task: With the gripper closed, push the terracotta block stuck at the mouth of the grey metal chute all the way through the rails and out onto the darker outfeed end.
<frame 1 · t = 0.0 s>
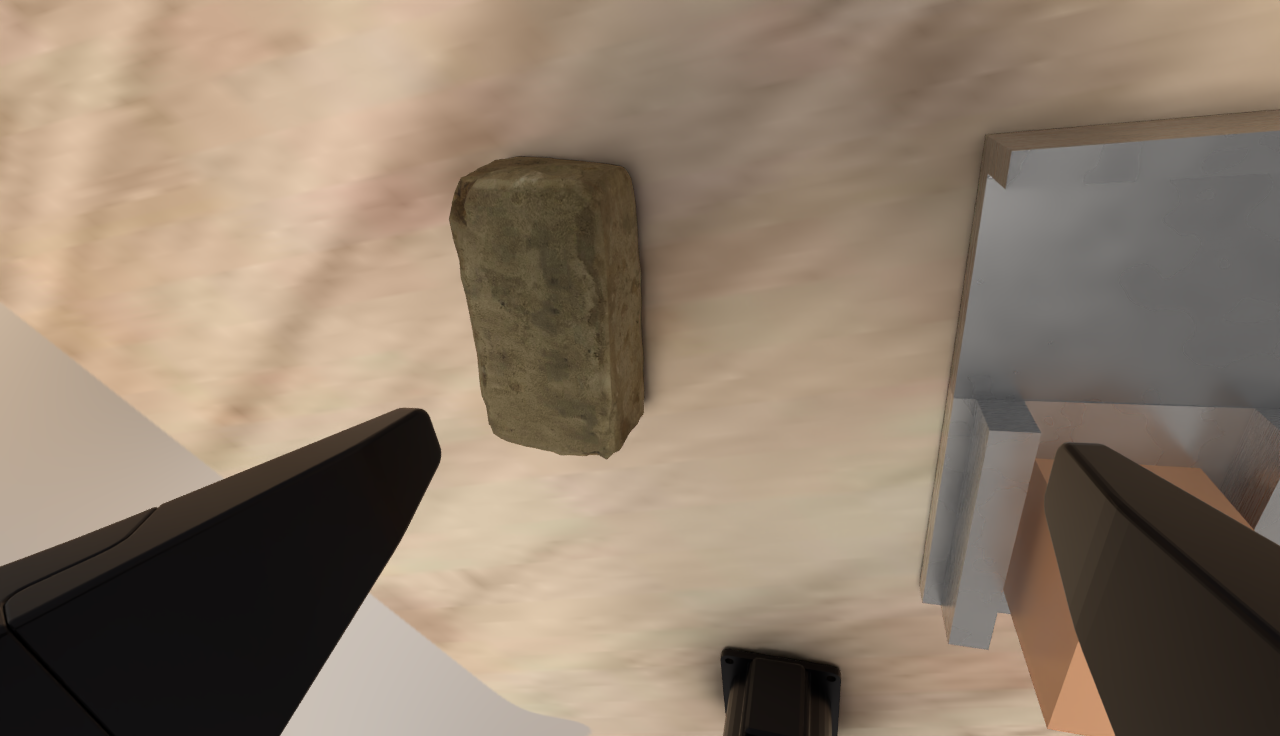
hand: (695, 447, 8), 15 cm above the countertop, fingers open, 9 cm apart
chute: (1100, 457, 22), on the countertop
block: (1091, 534, 22), point 1 cm above the countertop, touching chute
stone block: (583, 289, 25), on the countertop
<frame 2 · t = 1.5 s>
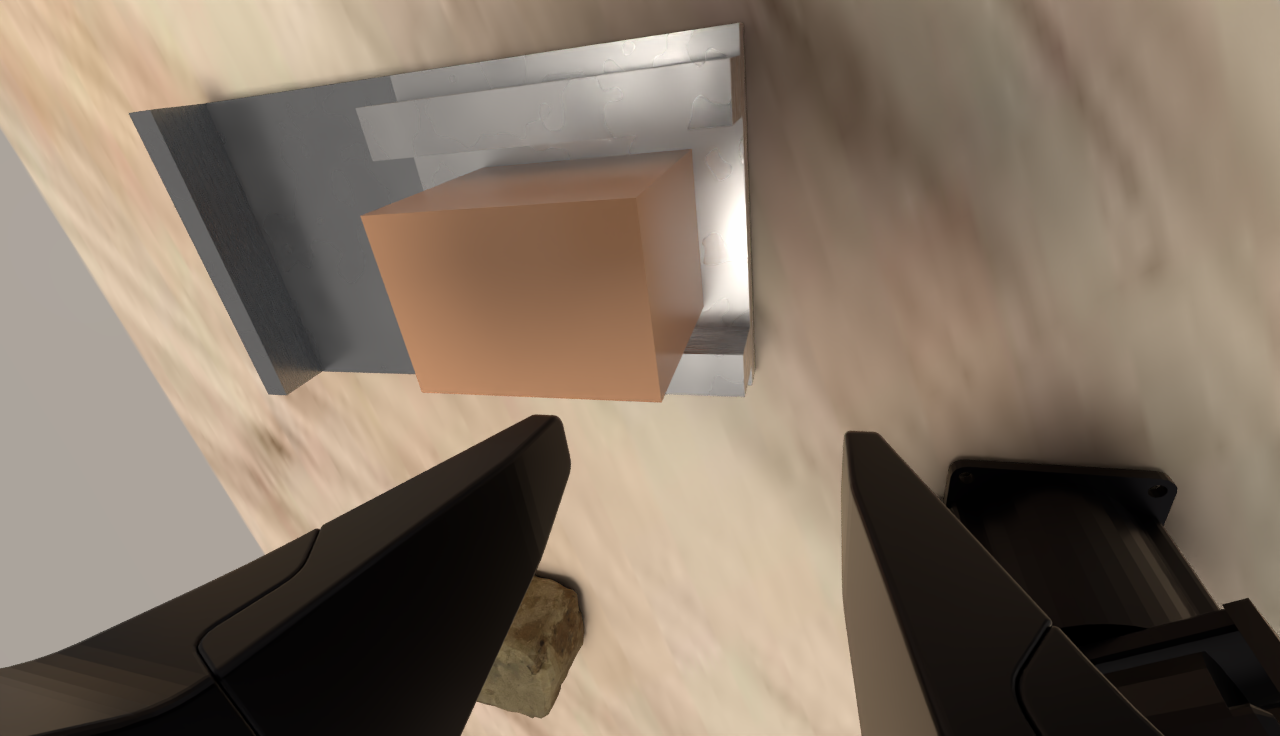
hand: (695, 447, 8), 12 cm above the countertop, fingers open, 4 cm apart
chute: (525, 232, 21), on the countertop
block: (594, 237, 19), point 1 cm above the countertop, touching chute
stone block: (494, 587, 33), on the countertop
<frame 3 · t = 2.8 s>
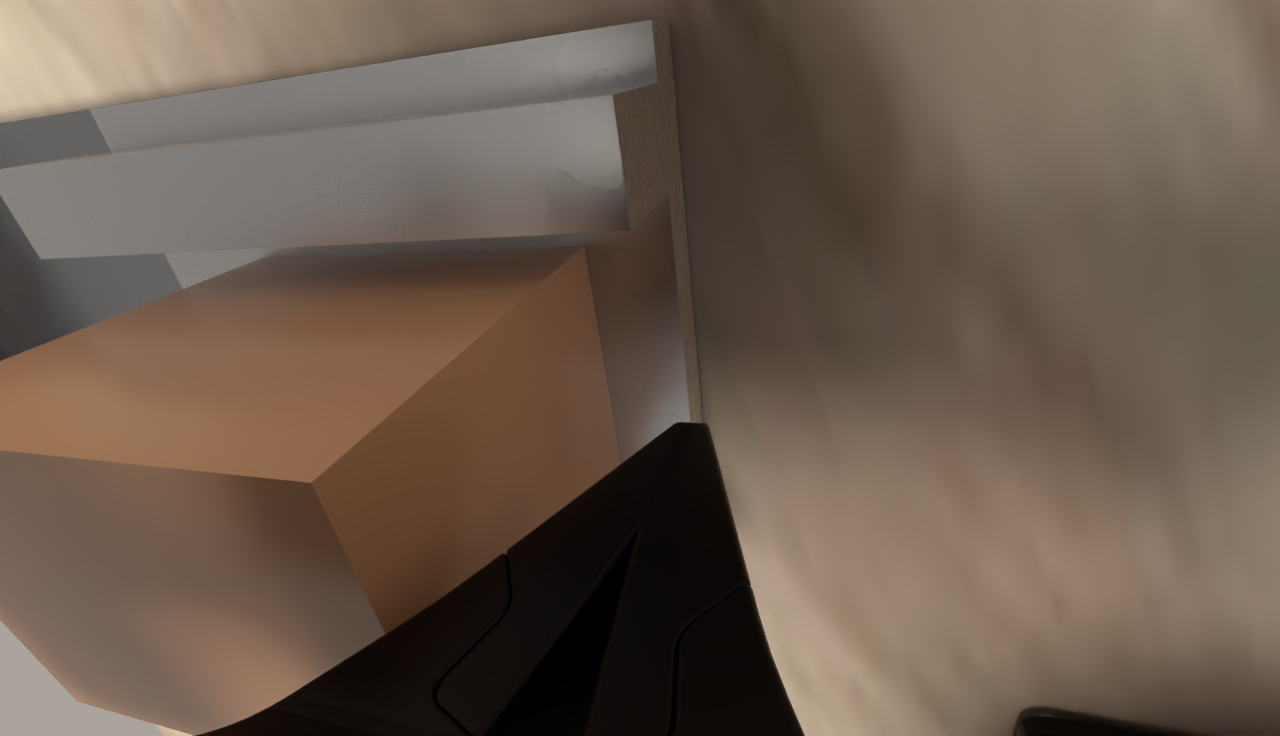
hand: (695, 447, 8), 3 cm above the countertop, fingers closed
chute: (356, 348, 13), on the countertop
block: (443, 373, 12), point 1 cm above the countertop, touching chute, gripper
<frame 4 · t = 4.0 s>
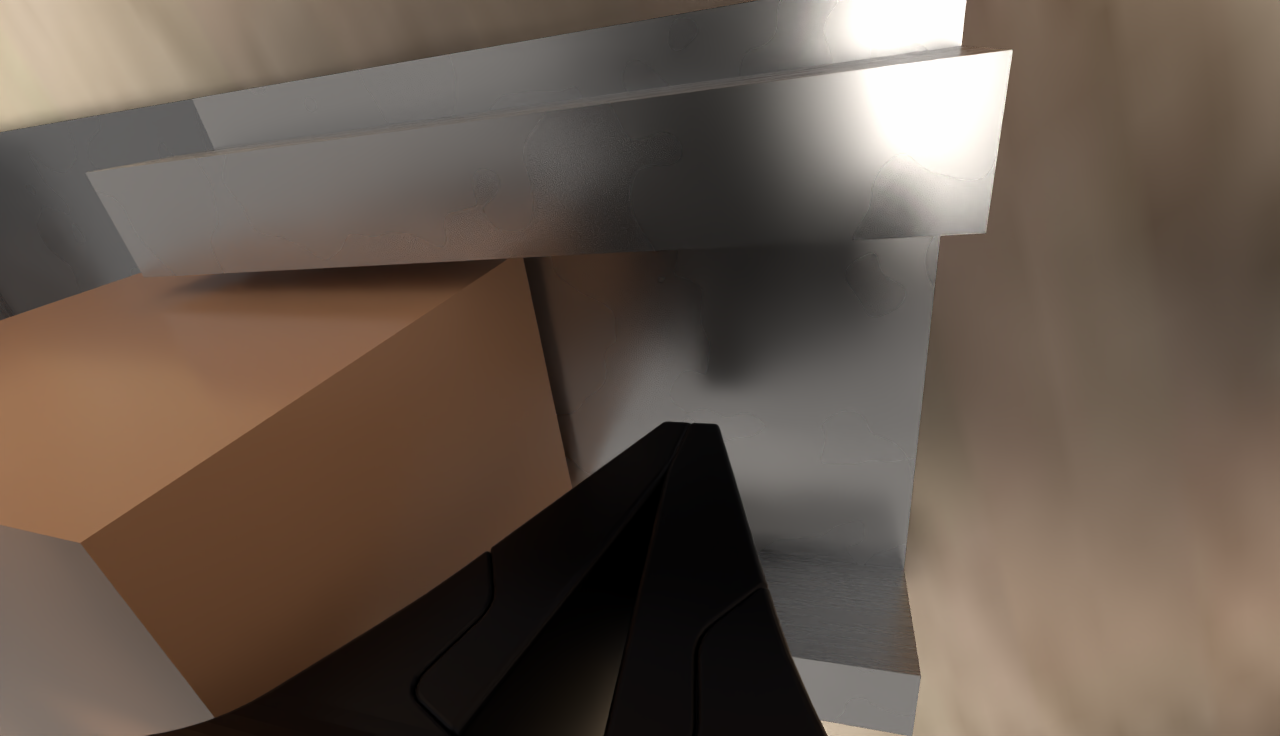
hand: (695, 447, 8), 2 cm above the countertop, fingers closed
chute: (479, 372, 12), on the countertop
block: (385, 381, 11), point 1 cm above the countertop, touching gripper
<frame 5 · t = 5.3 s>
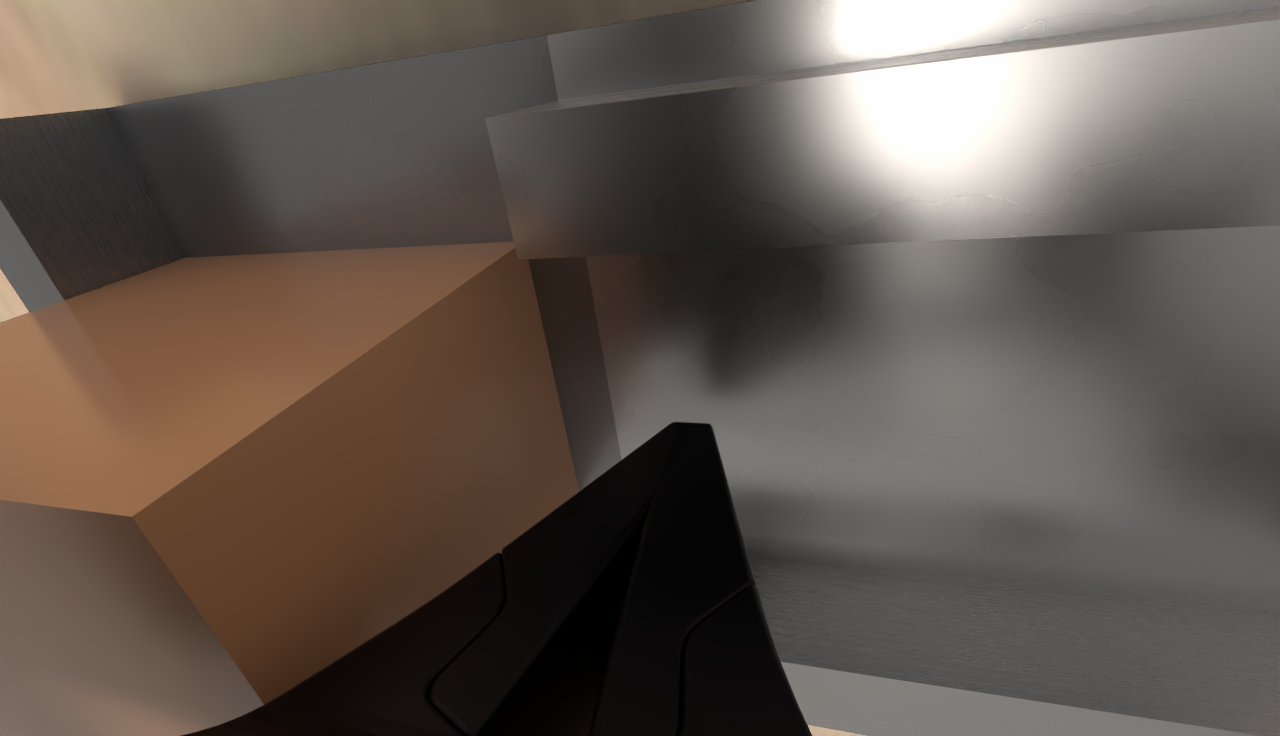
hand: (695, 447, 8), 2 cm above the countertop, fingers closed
chute: (796, 379, 10), on the countertop
block: (385, 378, 11), point 1 cm above the countertop, touching chute, gripper
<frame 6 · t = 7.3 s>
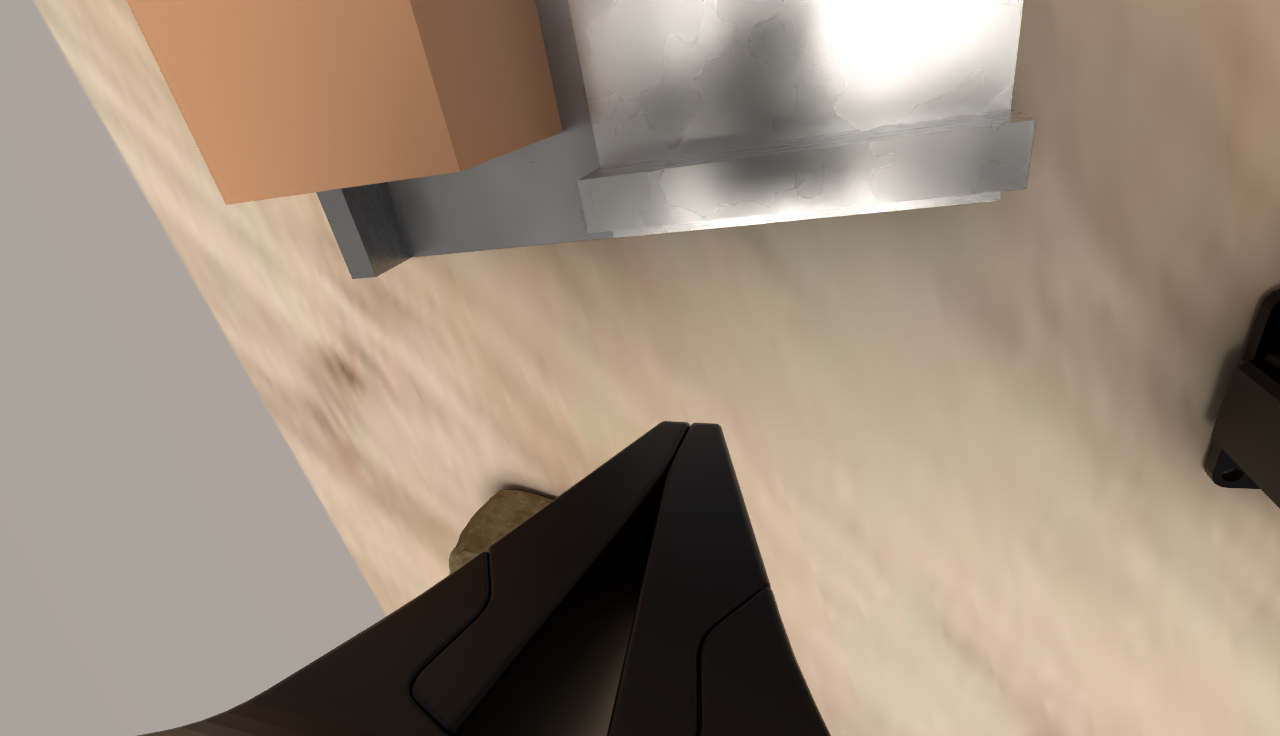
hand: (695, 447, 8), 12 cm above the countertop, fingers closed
chute: (687, 26, 16), on the countertop
block: (439, 61, 18), point 1 cm above the countertop, touching chute
stone block: (603, 546, 28), on the countertop
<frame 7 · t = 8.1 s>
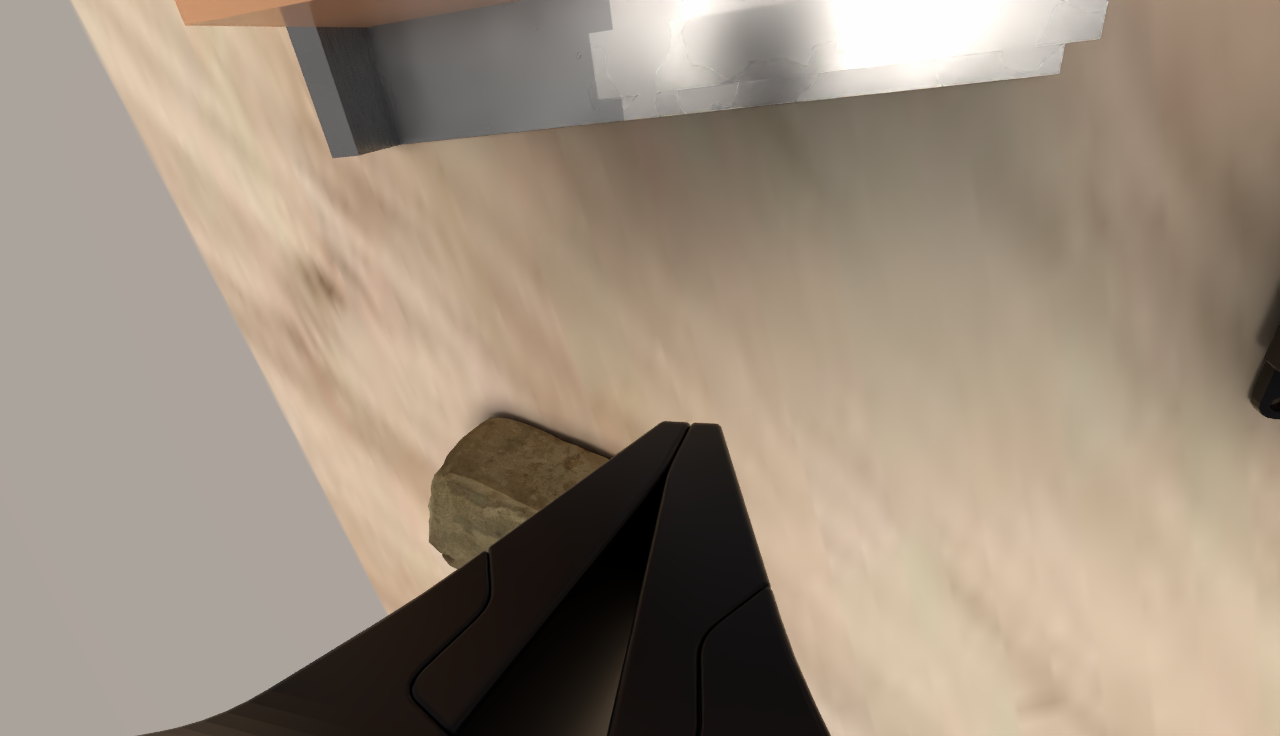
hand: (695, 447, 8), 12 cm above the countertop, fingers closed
stone block: (593, 489, 27), on the countertop
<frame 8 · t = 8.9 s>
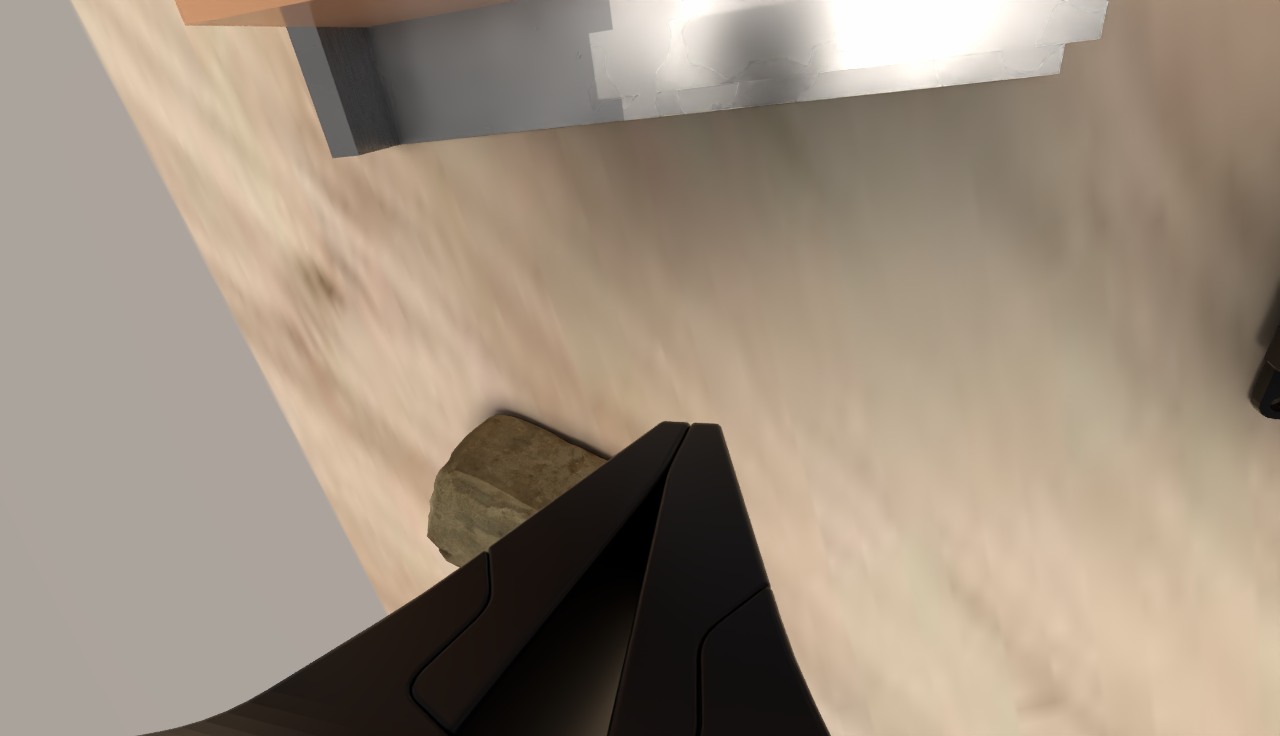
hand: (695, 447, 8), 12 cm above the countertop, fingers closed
stone block: (592, 490, 27), on the countertop
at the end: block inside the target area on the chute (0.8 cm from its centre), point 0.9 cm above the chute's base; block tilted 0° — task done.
